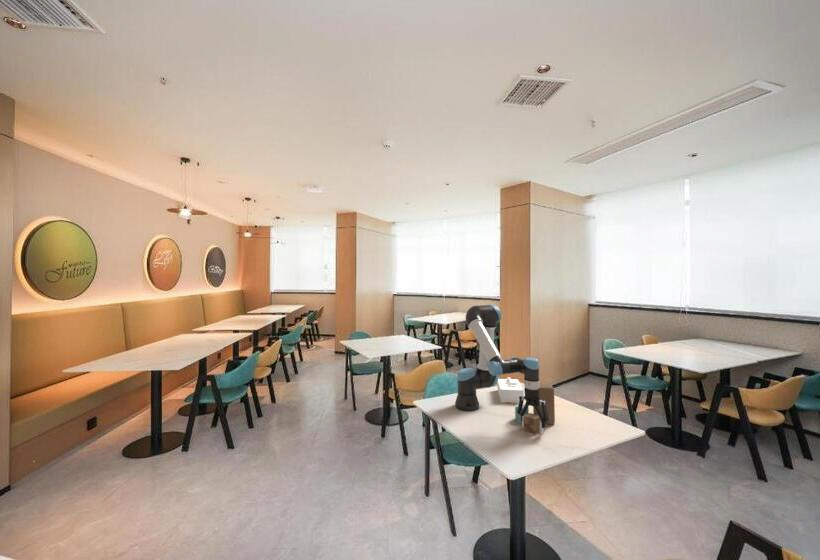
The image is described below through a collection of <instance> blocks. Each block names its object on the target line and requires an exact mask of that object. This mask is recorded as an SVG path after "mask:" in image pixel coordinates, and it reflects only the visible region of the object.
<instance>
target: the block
mask: <svg viewBox="0 0 820 560" xmlns="http://www.w3.org/2000/svg"><path fill="white" fill-rule="evenodd" d="M539 386H540V388H539V389H540V400H542V401H546V409H547V413H548V417H549V420H548V421H547V422H545V425H547V424H548V425H555V423H556V413H555V412H556V411H555V389H554V386H553V385H552V384H551V383H547V382H539ZM539 405H540V408H541V411H542V407H541V404H540V403H539ZM532 410H533V412H532V414H535V415H538V413H537V410H536V409H535V407H533V406H532ZM542 413H543V412H542Z"/></svg>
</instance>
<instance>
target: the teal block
mask: <svg viewBox="0 0 820 560" xmlns="http://www.w3.org/2000/svg"><path fill="white" fill-rule="evenodd" d="M518 405H519V403H516V405H515V406H514V411H515V412H514V413H515V414H514V415H515V416H514V417H515V418H514V419H515V422H517V423H518V422H519V423H522V421H521V415H520V414H518V413H517V410H518ZM524 406H525V404H523V407H522V410H523V408H524ZM529 411H530V410H529V407H528V408H527V410H526V412H525V414H524V415H527V414H529V413H530V412H529ZM521 412H522V411H521Z"/></svg>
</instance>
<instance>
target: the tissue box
mask: <svg viewBox="0 0 820 560" xmlns="http://www.w3.org/2000/svg"><path fill="white" fill-rule="evenodd" d="M497 392H498V397H499V401H500V403H506V402H511V403H512V404H519V401H520V400H519V396H521V395H523V396H525V393H524V389H523V386H522V385H521V382H520V381H519V379H516V378H513V379H512V378H511V377H509V376H507V377H506V378H498V382H497ZM523 404H525V403H524V402H523Z"/></svg>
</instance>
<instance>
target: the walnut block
mask: <svg viewBox="0 0 820 560" xmlns="http://www.w3.org/2000/svg"><path fill="white" fill-rule="evenodd" d="M524 419H525V428H524V432H526V433H529V434H531V435H536V436H537V435H538V434H540V421H541V419H540V417H539V415H535V414H533V412H529V414H527V415H525V416H524Z"/></svg>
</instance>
